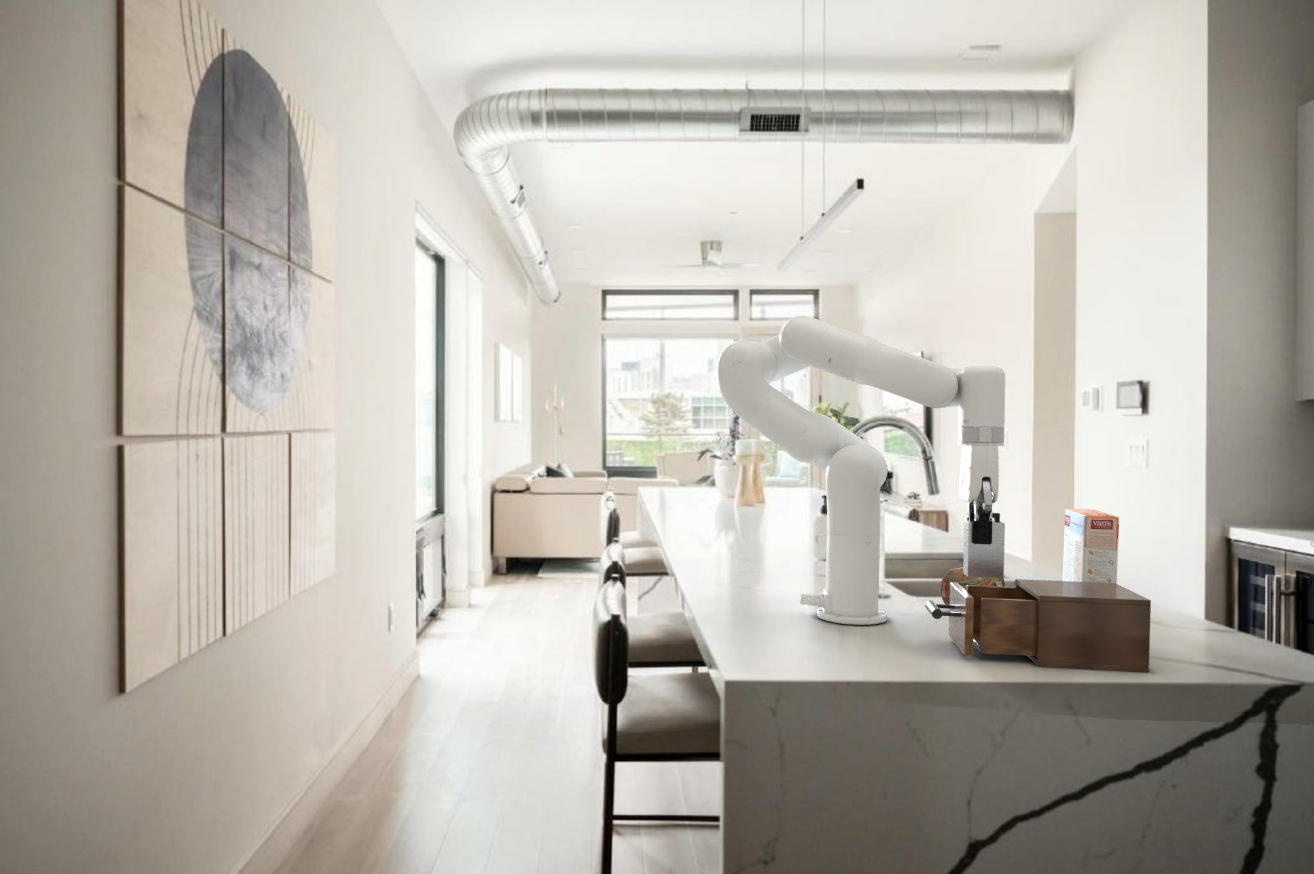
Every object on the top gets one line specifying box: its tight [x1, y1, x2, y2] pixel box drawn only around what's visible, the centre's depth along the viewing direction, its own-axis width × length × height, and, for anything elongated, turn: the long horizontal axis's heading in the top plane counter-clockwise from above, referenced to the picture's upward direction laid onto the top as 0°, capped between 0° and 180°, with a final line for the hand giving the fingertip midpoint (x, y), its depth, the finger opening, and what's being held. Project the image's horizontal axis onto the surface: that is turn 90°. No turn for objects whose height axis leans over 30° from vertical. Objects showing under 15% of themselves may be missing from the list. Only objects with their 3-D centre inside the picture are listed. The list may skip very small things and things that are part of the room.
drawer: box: [924, 582, 1038, 657], centre depth 145 cm, size 19×13×9 cm
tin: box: [940, 567, 1006, 605], centre depth 179 cm, size 15×3×8 cm, turn 117°
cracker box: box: [1062, 508, 1120, 584], centre depth 162 cm, size 14×6×21 cm, turn 168°
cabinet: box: [1014, 578, 1152, 673], centre depth 143 cm, size 16×15×11 cm
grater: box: [962, 512, 1006, 579], centre depth 160 cm, size 6×4×11 cm, turn 82°
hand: (979, 541), depth 160 cm, fingers closed on grater, 4 cm apart
